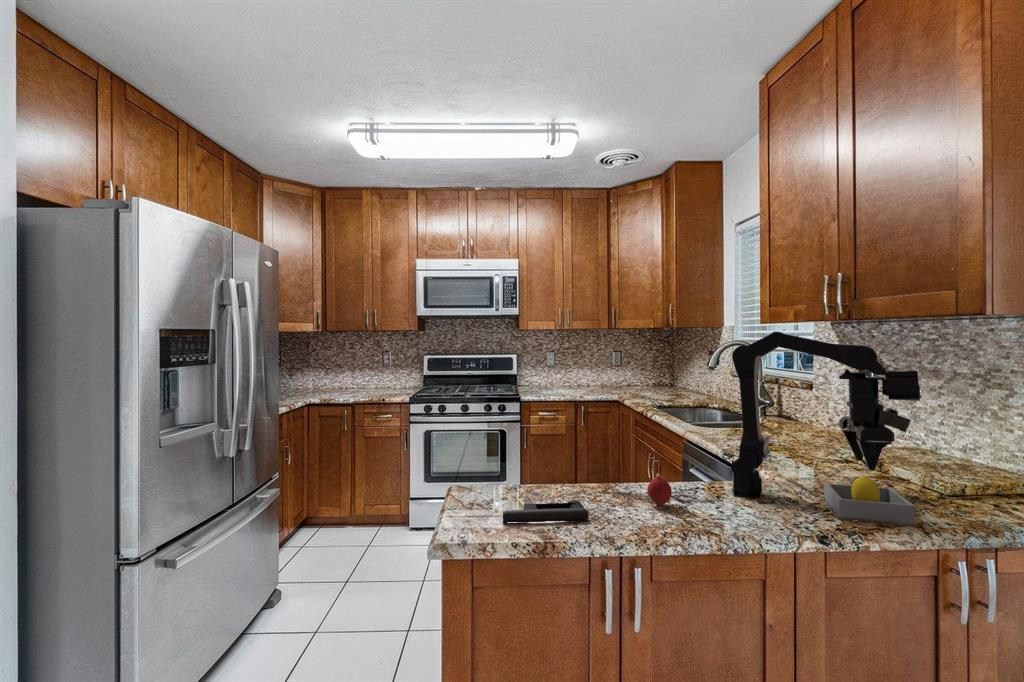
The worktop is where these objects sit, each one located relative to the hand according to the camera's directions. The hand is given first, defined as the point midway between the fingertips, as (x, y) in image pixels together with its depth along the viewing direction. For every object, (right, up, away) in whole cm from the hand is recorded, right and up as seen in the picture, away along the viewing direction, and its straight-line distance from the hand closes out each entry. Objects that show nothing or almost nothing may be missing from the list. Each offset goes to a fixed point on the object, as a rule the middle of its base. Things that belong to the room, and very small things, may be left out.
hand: (865, 465), depth 116 cm
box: (0, -11, 0) cm, 11 cm away
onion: (-46, -12, +7) cm, 48 cm away
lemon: (0, -11, 0) cm, 11 cm away
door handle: (-76, -13, +4) cm, 77 cm away
